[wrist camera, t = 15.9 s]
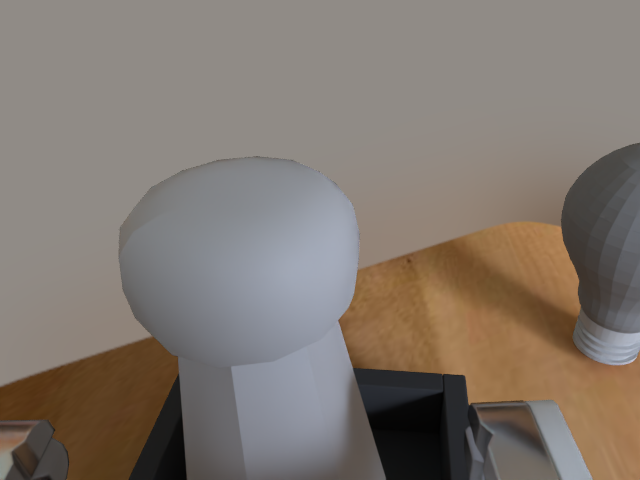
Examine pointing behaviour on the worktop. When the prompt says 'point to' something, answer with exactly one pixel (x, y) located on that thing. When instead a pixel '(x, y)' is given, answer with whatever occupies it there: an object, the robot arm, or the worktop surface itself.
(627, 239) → the light bulb
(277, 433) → the salt shaker
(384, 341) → the worktop surface
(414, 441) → the pad
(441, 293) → the worktop surface
